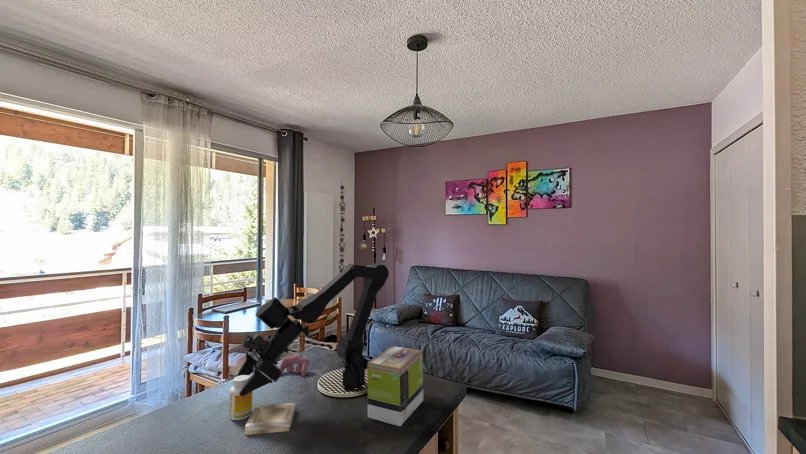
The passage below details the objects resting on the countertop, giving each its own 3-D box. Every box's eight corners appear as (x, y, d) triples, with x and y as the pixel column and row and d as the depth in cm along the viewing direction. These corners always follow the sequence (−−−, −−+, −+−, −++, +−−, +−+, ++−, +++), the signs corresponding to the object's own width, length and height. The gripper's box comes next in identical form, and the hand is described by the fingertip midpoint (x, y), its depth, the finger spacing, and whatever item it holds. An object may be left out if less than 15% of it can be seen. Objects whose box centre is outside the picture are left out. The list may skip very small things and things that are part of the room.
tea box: (393, 394, 100) (393, 344, 101) (424, 401, 96) (424, 349, 97) (366, 418, 87) (366, 360, 87) (400, 428, 83) (401, 367, 83)
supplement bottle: (256, 412, 89) (257, 375, 90) (240, 422, 84) (241, 383, 85) (240, 408, 91) (241, 372, 91) (224, 418, 86) (225, 380, 86)
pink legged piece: (308, 377, 116) (312, 356, 119) (303, 376, 112) (307, 354, 115) (280, 376, 117) (285, 354, 120) (275, 374, 113) (280, 352, 116)
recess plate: (294, 410, 91) (294, 402, 91) (289, 431, 81) (289, 422, 81) (255, 413, 89) (255, 405, 89) (244, 435, 79) (244, 426, 79)
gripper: (254, 314, 99) (210, 359, 92) (269, 328, 83) (217, 384, 77) (281, 337, 103) (240, 382, 96) (300, 355, 87) (253, 409, 81)
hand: (237, 388), depth 87 cm, fingers open, 9 cm apart
